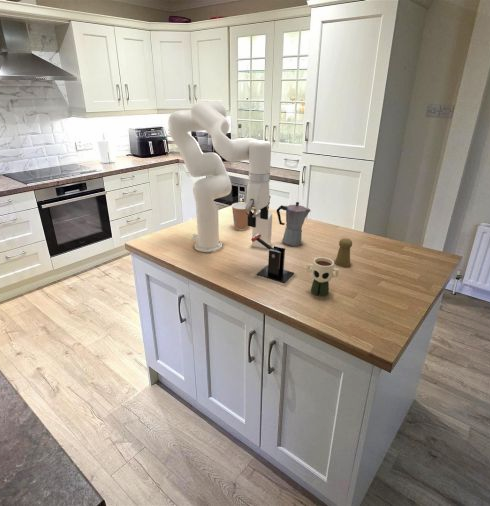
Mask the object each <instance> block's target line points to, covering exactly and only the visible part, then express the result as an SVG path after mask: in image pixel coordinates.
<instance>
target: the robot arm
mask: <svg viewBox="0 0 490 506" xmlns="http://www.w3.org/2000/svg"><path fill="white" fill-rule="evenodd" d="M227 115H228V113H227V108H226V107H225V105H224V103H222V102H220V101H218V100H202V101H197V102H196V103H194V104H193V105H192V106H191V108H190V109H181V110H176V111H173V112H172V113H171V114H169V117H168V119H167V120H168V122H167V126H168V131H169V135H170V138H171V139H172V141H173V142H174V144H175V145H176V147H177V149H178V151H179V153H180V155H181V158H182V160H183V162H184V165H185V167H186V169H187V172H188V173H189V175H190V176H191V177H193V178H200V177H202V178H200V179H198V180H196V181H195V182H194V183H193V186H192V192H193V197H194V201H195V211H196V232H197V233H193V234H192V237H191V241H195V243H194V249H195V250H196V251H198V252H200V253H201V252H202V253H213V252H214V251H218V250H219V249H221V248H222V247H223V243H222V242H221V241H220V240H219V239H220V233H219V232H220V231H219V230H220V229H219V226H220V225H219V208H218V206H217V204H216V203H215V200H216V199H220V198H223V197H227V196H229V195H230V194H231V192H232V189H233V186H232V181H231V179H230V176H229V174H228V172H227V169H226V167H225V164H224V162H223V159H224V160H225V161H227V162H230V163H237V162H242V161H248V184H247V187H246V188H247V189H246V198H245V203H246V207H245V209H246V214H247V216H248V227H250V228H252V227H254V228H255V227H256V217H255V215H256V212H257V211H258V210H260V218H261V219H265V220H267V219H268V210H269V209H270V201H271V198H272V197H271V195H270V183H271V160H272V159H271V158H272V145H271V143H270V141H267V140H258V139H256V138H252V137H245V138H236V139H235V138H234V139H231V138H229V137H228V136H227V134H228V132H229V130H230V127H231V126H230V121H229V120H228V118H227ZM200 131H201V132H202V131H205V132H206V133H207V134H209V136H210V137H211V144H212V147H213V149H214V151H215V152H214V151H213V152H212V151H210V152H209V151H208V152H203V151H202V149H201V147H200V144H199V142H198V141H197V140H196V138H195V137H194V136H192V134H190V133H189V132H200ZM207 176H208V177H207Z"/></svg>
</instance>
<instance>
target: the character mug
mask: <svg viewBox="0 0 490 506" xmlns="http://www.w3.org/2000/svg"><path fill="white" fill-rule="evenodd" d="M310 268H312V269H310ZM306 272H307V273H310V274H311V277H312V279H313V281H312V284H311V288H310V293H311V294H312V295H314V296H315V297H318V296H319V298H320V297H321V298H322V297H327V296H329V293H330V283H329V282H330V281H331V280H332V279H333V278H338V277H339V273H340V269H339V268H336V267H335V261H334V260H333V259H331V258H329V257H323V256H318V257H315V258H314V259H313V261H312V263H307V264H306ZM334 272H335V273H334Z"/></svg>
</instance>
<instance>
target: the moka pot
mask: <svg viewBox="0 0 490 506" xmlns="http://www.w3.org/2000/svg"><path fill="white" fill-rule="evenodd" d="M281 210H282V211H285V222H286V224H285V222H282V216H281V212H280V211H281ZM310 212H312V210H311V209H310V208H308V207H305V206H304V205H300V202H299V201H296V202H295V204H289V205H279V207H278V208H277V209H276V215H277V219H278V223H279V225H282V226H286V227H285V230H284V233H283V237H282V239H281V240H282V243H283V244H285V245H287V246H290V247H297V246H300V245H301V244H302V233H303V230H302V228H303V225H304V223H305V220H306V218H307V216H308V215H309V213H310Z"/></svg>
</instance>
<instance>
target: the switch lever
mask: <svg viewBox="0 0 490 506" xmlns="http://www.w3.org/2000/svg"><path fill="white" fill-rule="evenodd" d="M260 237H261V235H260V234H257V235H256V236H254V237H253V238H252V237H251V239H250V240H251V243H252V242H254V241H256V240H257V241H258V242H260V243H261V244H262V245H264V246H265V247H266V248H265V249H267V250H268V251H269V250H270V249H272V250H276V251H280V250H279V249H278V248H276V249H274V247H272V246H271V244H270V245H268V244H267V243H266V242H264V241H263V240H262V239H260ZM280 252H281V254H282V251H280ZM281 254H280V255H281Z"/></svg>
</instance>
